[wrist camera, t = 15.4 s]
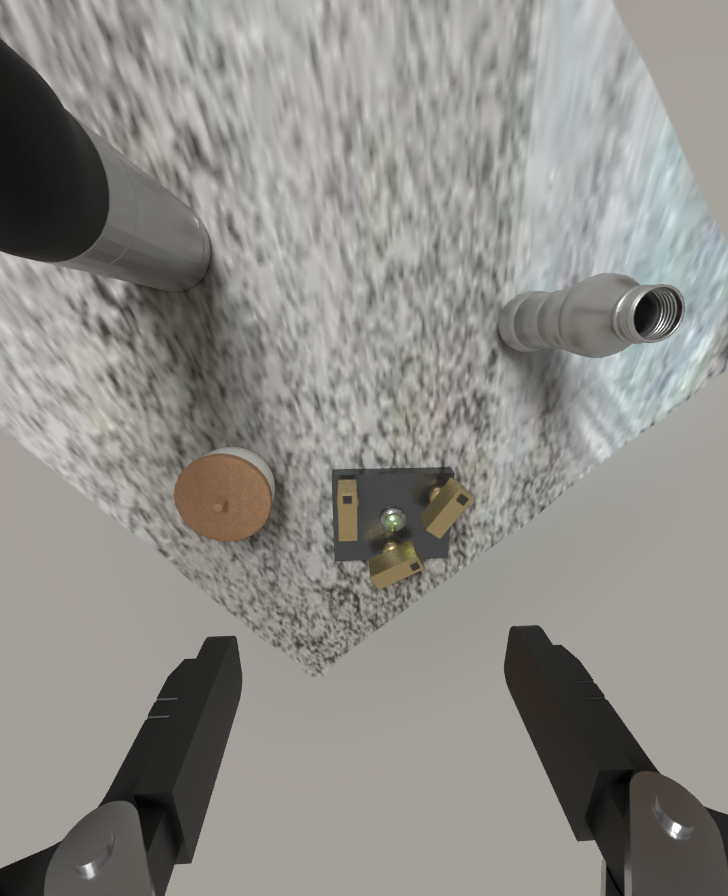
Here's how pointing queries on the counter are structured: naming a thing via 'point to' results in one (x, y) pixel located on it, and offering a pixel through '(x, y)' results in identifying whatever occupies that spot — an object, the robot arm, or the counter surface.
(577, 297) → the plastic bottle
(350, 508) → the knob
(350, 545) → the levelling plate
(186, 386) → the counter surface
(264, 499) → the lidded jar
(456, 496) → the knob
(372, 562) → the bar with square hole
